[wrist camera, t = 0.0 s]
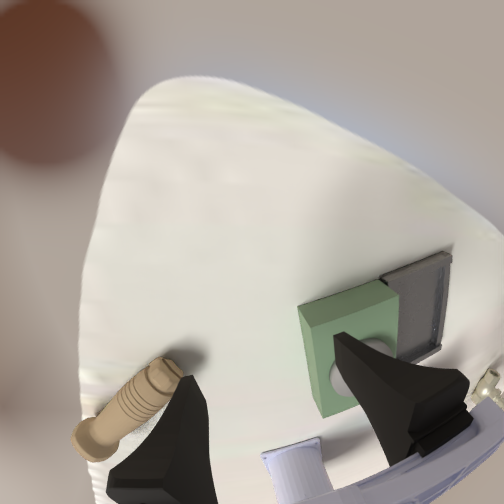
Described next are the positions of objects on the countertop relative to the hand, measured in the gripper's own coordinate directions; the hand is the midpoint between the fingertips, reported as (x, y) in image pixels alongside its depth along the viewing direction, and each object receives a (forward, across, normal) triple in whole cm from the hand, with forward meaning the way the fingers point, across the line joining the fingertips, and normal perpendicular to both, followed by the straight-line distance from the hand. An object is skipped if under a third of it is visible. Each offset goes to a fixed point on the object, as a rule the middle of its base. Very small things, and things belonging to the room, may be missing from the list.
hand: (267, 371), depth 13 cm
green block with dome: (+10, -8, +9) cm, 16 cm away
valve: (+10, -38, +35) cm, 53 cm away
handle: (+8, +8, +5) cm, 12 cm away
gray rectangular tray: (+10, -16, +9) cm, 21 cm away
